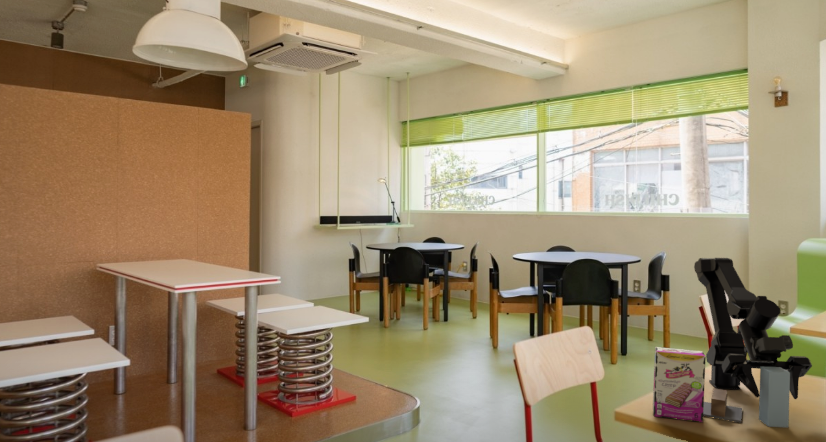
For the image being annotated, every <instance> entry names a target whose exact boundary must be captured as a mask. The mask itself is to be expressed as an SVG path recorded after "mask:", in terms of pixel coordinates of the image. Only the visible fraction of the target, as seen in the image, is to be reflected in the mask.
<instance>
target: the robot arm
mask: <svg viewBox="0 0 826 442" xmlns="http://www.w3.org/2000/svg"><path fill="white" fill-rule="evenodd" d="M693 268H694V273H695V274H696V276H697V279H698V281H699V283H701V285H702V286H704V287H705V290H706V295H707V300H708V304H709V305H708V306H709V309H710V314H711V320H712V325H713V328H714V334H713V337H712V338H711V341H710V347H709V349H708V350H707V352H706V354H705V356H706V363H708V364H709V365H711V370H710V371H711V372H710V373H711V375H710V376H711V377H710V378H711V379H708V382H709V383H710V384H711V385H712V386H713V387H715V388H714V389H720V390H741V389H742V388H741V387H740V386H741V384H743V385H744V387H746V388H747V389H748V390H749V391H750V393H752V394H753V396H755V398H757V399H758V398H760V390H759V389H758V386H757V383H756V380H755V378H754V375H753V371H752V369H759V370H760V366H764V367H781V368H783V369H784V370H786V371H788V372H790V391H789V394H791V396H792V398H793V399H794V400H797V399H798V397H799V379H800V378H802V377H805V376H806V374H807V373H808V372H809V371H810V369H811V368H812V367H813V364H812V361H811V360H810V358H809V357H807V356H801V355H800V356H799V355H790V356H789V357H788V358H787V360H785V361H784V360H783V361H780V360H778V359H781V357H782V353H783V352H787V350H791V349H793V348H794V344H793V340H792V338H791V336H790V335H783V334H782V335H780V336H778V337H777V336H769V334H768V332H767V330H770V328H772V326H773V325H774V323H775V321H776V320H777V319H778V317H779V316H780V314H781V308H780V306H779V305H778V304H777V303H776V302H774V301H773V300H770V299H768V297H767V295H757V296H756V295H755V294H754V293H753V292H752V291H750V290H747V289H746V287H745V285H744V282H743V281H742V280H741V278H740V276H739V274H738V272H737V270H736V268H735V266H734V262H733V259H732V258H728V257H710V258H709V257H708V258H707V257H704V258H703V257H700V258H698V260H697V261H695V262H694V266H693ZM727 299H728V300H727ZM731 318H732V319H734V320H741V321H740V323H739V324H738V328H737V332H736V331H735V330H734V326H733V323H732V319H731ZM747 356H748V358H749V359H747Z"/></svg>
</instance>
